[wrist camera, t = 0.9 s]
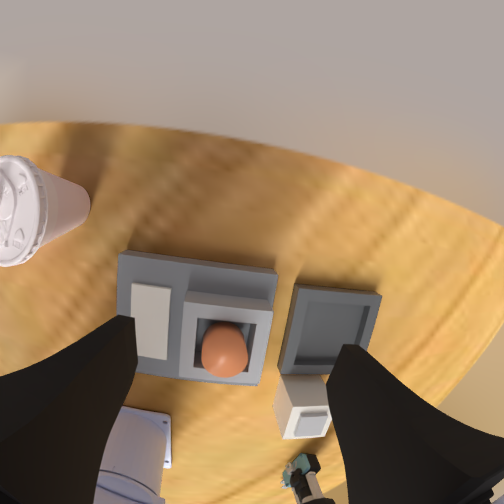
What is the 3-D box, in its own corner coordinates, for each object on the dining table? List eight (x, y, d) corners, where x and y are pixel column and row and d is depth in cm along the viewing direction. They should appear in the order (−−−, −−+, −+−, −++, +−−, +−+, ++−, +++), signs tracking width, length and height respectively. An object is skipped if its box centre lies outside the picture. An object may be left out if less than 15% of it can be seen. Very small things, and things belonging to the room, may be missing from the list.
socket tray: (353, 366, 26) (359, 373, 25) (277, 365, 25) (280, 373, 24) (374, 291, 25) (382, 295, 24) (294, 283, 24) (299, 288, 23)
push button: (297, 481, 29) (316, 536, 19) (263, 477, 28) (276, 538, 18) (325, 453, 28) (352, 511, 19) (290, 448, 27) (312, 513, 18)
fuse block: (309, 405, 27) (326, 440, 21) (272, 405, 26) (283, 443, 21) (319, 374, 26) (339, 408, 21) (280, 374, 25) (294, 410, 20)
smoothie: (104, 163, 20) (-11, 128, 7) (107, 241, 21) (-5, 290, 8) (43, 174, 20) (-76, 163, 6) (46, 246, 21) (-69, 287, 7)
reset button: (241, 359, 21) (244, 379, 18) (201, 355, 20) (199, 375, 18) (246, 323, 20) (251, 340, 18) (204, 319, 20) (203, 336, 17)
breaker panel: (254, 373, 25) (261, 403, 21) (124, 357, 23) (110, 384, 19) (273, 268, 23) (286, 284, 19) (126, 249, 22) (106, 260, 17)
